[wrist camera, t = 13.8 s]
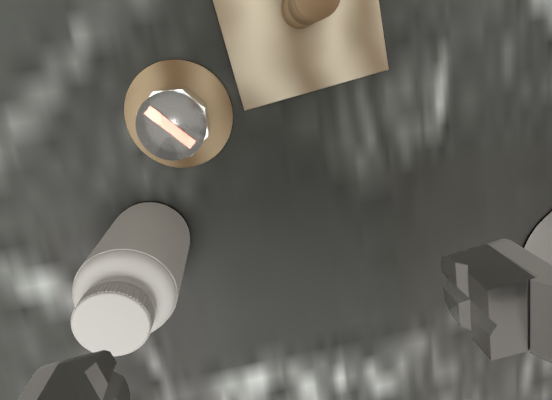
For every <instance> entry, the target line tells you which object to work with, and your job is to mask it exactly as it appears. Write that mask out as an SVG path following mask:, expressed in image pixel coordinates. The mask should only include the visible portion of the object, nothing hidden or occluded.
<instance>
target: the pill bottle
mask: <svg viewBox="0 0 552 400" xmlns="http://www.w3.org/2000/svg"><path fill="white" fill-rule="evenodd" d="M189 246H190V233H189V229H188V226H187V224H186V222H185V220H184V219H183V218H182V216H181V215H180V214H179V213H178V212H176V211H175V210H174V209H172V208H170V207H168V206H166V205H164V204H160V203H155V202H145V203H139V204H136V205H133V206H131V207H129V208H128V209H126V210H125V211H124V212H122V213H121V214H120V215H119V216H118V217H117V219H116V220H115V221H114V223H113V224H112V225H111V227H110V228H109V229H108V231H107V232H106V233H105V235H104V236H103V237H102V239H101V240H100V241H99V243H98V244H97V246H96V247H95V248H94V250H93V251H92V252H91V254H90V255H89V256H88V258H87V259H86V260H85V262H84V263H83V264H82V266H81V267H80V269H79V270H78V272H77V274H76V276H75V279H74V282H73V289H72V297H73V303H74V307H75V308H74V311H73V312H72V316H71V327H72V332H73V334H74V336H75V338H76V339H77V341H78V342H79V343H80V344H81V345H82V346H83V347H85V348H86V349H88V350H89V351H91V352H93V353H94V352H98V351H102V350H107V351H110V352H111V354H112V355H113V356H121V355H125V354H128V353H131V352H133V351H135V350H136V349H138V348H139V347H141V346H142V345H143V344H144V342H146V340H147V339H148V337H149V335H150V333H151V332H153V331H155V330H156V329H158V328H159V327H161V326H162V325H163V324H164V323H165V322H166V321H167V320H168V318H169V317H170V316H171V314H172V313H173V311H174V309H175V306H176V303H177V300H178V296H179V291H180V287H181V282H182V278H183V273H184V269H185V264H186V260H187V255H188V251H189Z"/></svg>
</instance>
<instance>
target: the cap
mask: <svg viewBox="0 0 552 400" xmlns="http://www.w3.org/2000/svg"><path fill="white" fill-rule="evenodd" d="M135 126H136V132H137V135H138V138H139V140H140V142H141V143H142V145H143V146H144V147H145V148H146V149H147V150H148V151H149V152H150V153H151V154H153V155H155V156H156V157H159V158H161V159H165V160H171V161H175V160H182V159H185V158H188V157H190V156H192V155H193V154H194V153H195V152H196V151H197V150H198V149H199V148H200V147H201V145H202V143H203V141H204V140H205V139H206V138H207V136H208V134H209V130H210V125H209V117H208V109H207V103H205V102H204V101H203V100H202V99H201V98H199V97H198V96H197V95H196V94H194V93H193V92H192V91H191V90H190V89H188V88H187V87H179V88H167V89H159V90H157V91H154V92H152V94H151V95H150V96H149V98H147V99H146V100H145V101H144V102H143V103H142V105H141V106H140V108H139V110H138V112H137V115H136V121H135Z"/></svg>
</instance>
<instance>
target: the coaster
mask: <svg viewBox="0 0 552 400" xmlns="http://www.w3.org/2000/svg"><path fill="white" fill-rule="evenodd" d="M179 87H187V88H188V89H190V90H191V91H192V92H193V93H194V94H196V95H197V96H198V97H199V98H201V99H202V100H203V101H204V102H205V103H207V109H208V117H209V125H210V130H209V134H208V136H207V138H206V139H205V140H204V141H203V143H202V145H201V147H200V148H199V149H198V150H197V151H196V152H195V153H194V154H193V155H192V156H190V157H188V158H185V159H182V160H175V161H171V160H165V159H161V158H159V157H156V156H155V155H153V154H151V153H150V152H149V151H148V150H147V149H146V148H145V147H144V146H143V145H142V143H141V142H140V140H139V138H138V135H137V132H136V126H135V121H136V115H137V112H138V110H139V108H140V106H141V105H142V103H143V102H144V101H145V100H146V99H147V98H149V96H150V95H151V94H152V92H154V91H157V90H159V89H167V88H179ZM124 117H125V122H126V126H127V129H128V131H129V133H130V135H131V137H132V139H133V141H134V142H135V144H136V145H137V146H138V147H139V148H140V149H141V150H142V151H143V152H144V153H145V154H146V155H147V156H149V157H150V158H152V159H153V160H155V161H157V162H159V163H162V164H164V165H168V166H172V167H183V168H184V167H192V166H197V165H200V164H203V163H205V162H207V161H209V160H210V159H212V158H213V157H214V156H216V155H217V154H218V153H219V152H220V151H221V149H222V148H223V147H224V145H225V144H226V142H227V140H228V138H229V136H230V133H231V130H232V124H233V111H232V105H231V101H230V98H229V95H228V93H227V91H226V89H225V88H224V86H223V85H222V83H221V82H220V81H219V80H218V78H217V77H216V76H215V75H214V74H212V73H211V72H210V71H209V70H207V69H206V68H204V67H202V66H200V65H198V64H196V63H193V62H190V61H185V60H165V61H160V62H157V63H155V64H152V65H150V66H149V67H147V68H145V69H144V70H143V71H141V72H140V73H139V74H138V75H137V76H136V78H135V79H134V80H133V82H132V83H131V85H130V87H129V89H128V91H127V94H126V98H125V103H124Z"/></svg>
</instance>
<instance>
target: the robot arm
mask: <svg viewBox="0 0 552 400" xmlns="http://www.w3.org/2000/svg"><path fill="white" fill-rule="evenodd" d="M441 267H442V273H443V274H444V275H445V276H446V277H447V278H448V281H447V282H446V284H445V286H444V295H445V301H446V303H447V306H448V309H449V311H450V313H451V314H452V316H453V318H454V319H455V320H456V321H457V322H458V324H459V325H460V326H462V327H464V328H467V329H470V330H471V331H472V340H473V341H474V342H475V343H476V344H477V345H478V346H479V347H480V349H481V350H482V351H483V352H484V353H485V354H486V355H487V356H488V357H489V359H490V360H491V361H492V360H496V359H499V358H503V357H507V356H511V355H515V354H519V353H523V352H527V351H530V353H532V354H534V355H536V356H538V357H540V358H542V359H544V360H546V361H548V362H551V363H552V212H551V213H549V214H548V215H547V216H546V217H545V218H544V219H543V220H542V221H541V222H540V223H539V224H538V226H537V227H536V228H535V229H534V231H533V232H532V234H531V235H530V237H529V239H528V241H527V243H526V245H525V247H524V248H523V247H521V246H519V245H518V244H516V243H514V242H513V241H511V240H510V239H504V238H502V239H499V240H496V241H493V242H490V243H486V244H483V245H482V246H478V247H475V248H471V249H468V250H464V251H461V252H457V253H454V254H451V255H447V256H444V257H442V261H441ZM116 363H117V362H116V361H115V359H114V357H113V355H112V354H111V352H110V351H107V350H102V351H98V352H94V353H90V354H86V355H82V356H78V357H74V358H71V359H67V360H64V361H59V362H55V363H52V364H48V365H45V366H42V367H40V368H39V369H37V370H36V371H35V373H34V374H33V376H32V377H31V379H30V381H29V382H28V384H27V385H26V387H25V388H24V390H23V391H22V393H21V394H20V396H19V397H18V399H17V400H130V391H129V387H128V384H127V382H126V380H125V378H124V377H123V376H122V375H120V374H118V373H116V372H114V369H115V366H116Z"/></svg>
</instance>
